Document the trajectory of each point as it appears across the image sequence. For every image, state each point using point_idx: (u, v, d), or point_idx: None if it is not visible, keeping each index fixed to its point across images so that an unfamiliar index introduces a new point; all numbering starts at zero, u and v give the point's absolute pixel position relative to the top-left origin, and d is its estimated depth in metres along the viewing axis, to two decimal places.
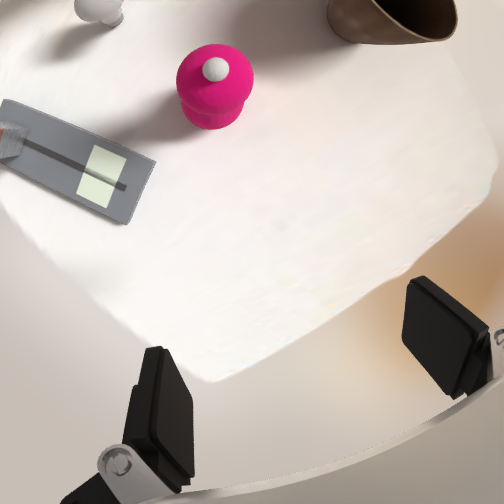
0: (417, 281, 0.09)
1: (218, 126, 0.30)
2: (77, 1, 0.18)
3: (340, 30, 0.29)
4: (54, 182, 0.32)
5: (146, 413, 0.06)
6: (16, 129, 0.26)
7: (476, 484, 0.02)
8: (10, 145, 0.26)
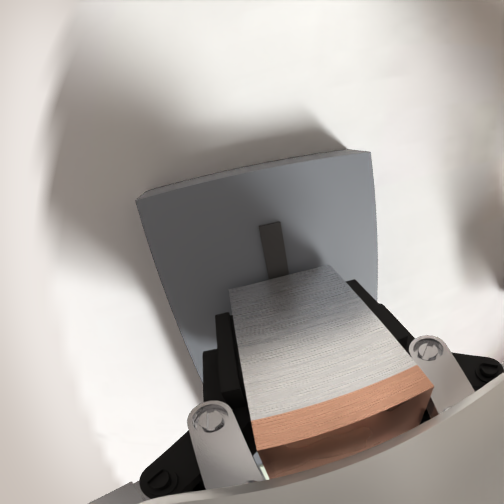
0: None
1: None
2: None
3: None
4: None
5: (233, 368, 0.08)
6: None
7: (476, 484, 0.02)
8: None
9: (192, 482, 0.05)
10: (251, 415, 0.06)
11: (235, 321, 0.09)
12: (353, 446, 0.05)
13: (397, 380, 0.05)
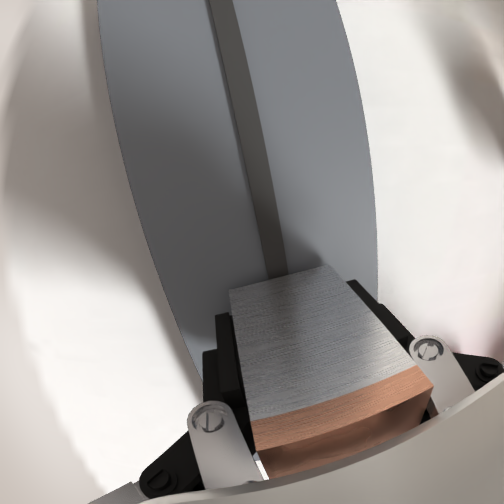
0: None
1: None
2: None
3: None
4: (205, 333, 0.12)
5: (233, 368, 0.08)
6: None
7: (476, 484, 0.02)
8: None
9: (192, 482, 0.05)
10: (251, 415, 0.06)
11: (235, 321, 0.09)
12: (353, 446, 0.05)
13: (397, 380, 0.05)
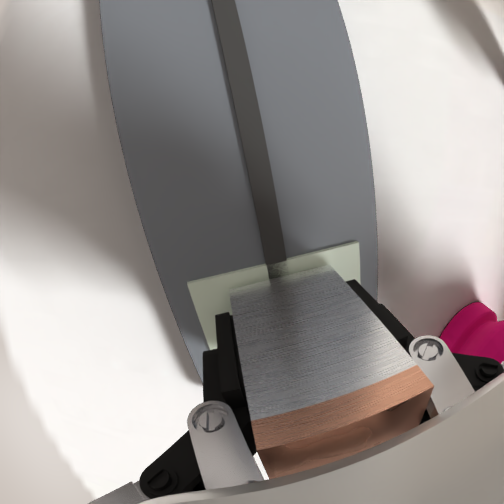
0: None
1: None
2: None
3: None
4: (158, 180, 0.10)
5: (233, 368, 0.08)
6: None
7: (476, 484, 0.02)
8: None
9: (192, 482, 0.05)
10: (251, 415, 0.06)
11: (235, 321, 0.09)
12: (353, 446, 0.05)
13: (397, 380, 0.05)
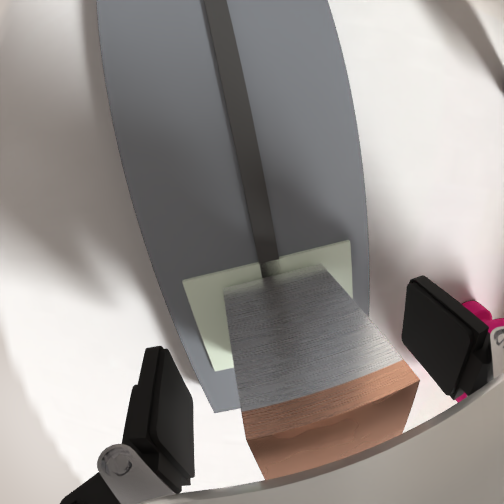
0: (417, 281, 0.09)
1: None
2: None
3: None
4: (154, 181, 0.10)
5: (146, 413, 0.06)
6: None
7: (476, 484, 0.02)
8: None
9: None
10: (241, 406, 0.06)
11: (228, 318, 0.09)
12: (341, 438, 0.06)
13: (383, 374, 0.06)
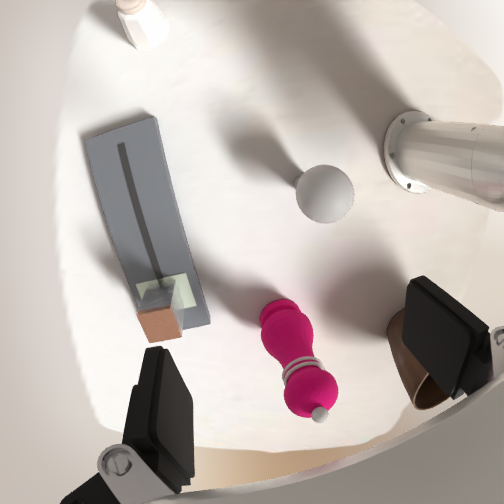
0: (417, 281, 0.09)
1: None
2: (318, 188, 0.27)
3: (391, 337, 0.45)
4: (125, 256, 0.35)
5: (146, 413, 0.06)
6: (182, 318, 0.35)
7: (476, 484, 0.02)
8: None
9: None
10: (138, 310, 0.31)
11: (144, 294, 0.34)
12: (157, 320, 0.31)
13: (164, 306, 0.31)
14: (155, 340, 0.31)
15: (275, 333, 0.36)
